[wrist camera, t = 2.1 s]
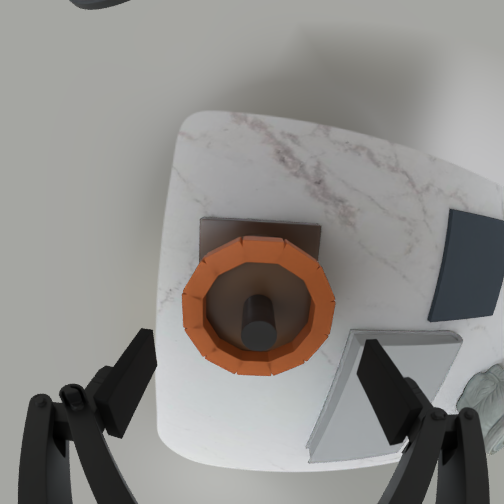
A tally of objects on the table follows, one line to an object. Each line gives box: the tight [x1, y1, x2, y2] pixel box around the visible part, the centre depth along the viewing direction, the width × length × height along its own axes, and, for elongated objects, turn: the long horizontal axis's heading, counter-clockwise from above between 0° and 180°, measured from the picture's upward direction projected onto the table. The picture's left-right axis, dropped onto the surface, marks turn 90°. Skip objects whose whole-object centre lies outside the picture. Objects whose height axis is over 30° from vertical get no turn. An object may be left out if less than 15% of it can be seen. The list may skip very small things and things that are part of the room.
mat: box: [428, 209, 504, 322], centre depth 29 cm, size 15×15×1 cm
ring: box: [182, 236, 336, 376], centre depth 21 cm, size 12×12×2 cm
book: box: [306, 330, 463, 463], centre depth 33 cm, size 18×4×24 cm
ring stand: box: [199, 217, 321, 352], centre depth 24 cm, size 12×12×12 cm
